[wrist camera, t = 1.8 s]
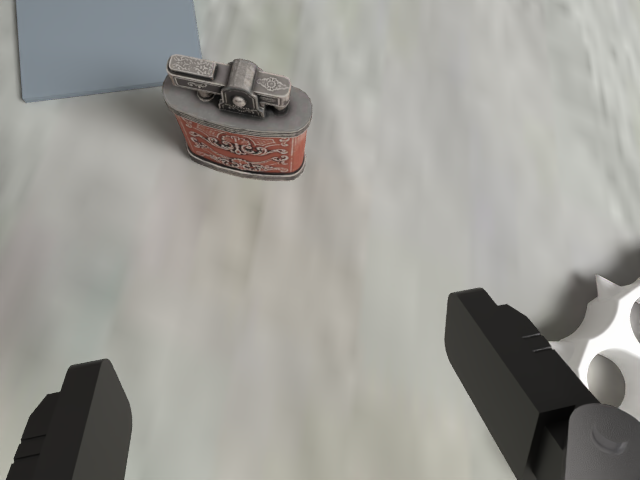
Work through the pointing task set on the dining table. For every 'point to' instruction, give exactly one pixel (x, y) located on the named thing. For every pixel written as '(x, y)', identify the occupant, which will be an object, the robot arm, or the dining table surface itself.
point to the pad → (100, 44)
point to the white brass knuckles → (607, 339)
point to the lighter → (239, 117)
